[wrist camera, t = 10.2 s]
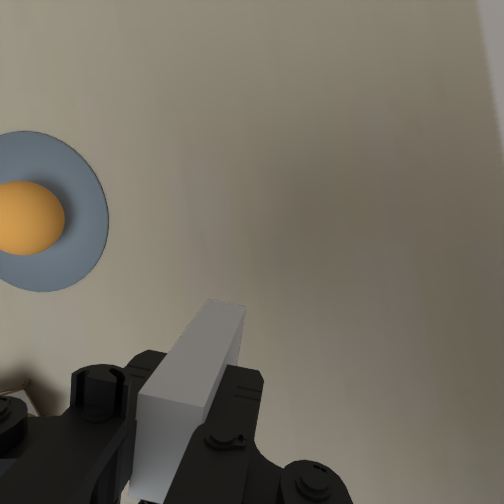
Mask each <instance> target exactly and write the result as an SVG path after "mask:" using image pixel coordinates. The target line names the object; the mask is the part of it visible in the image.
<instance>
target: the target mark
mask: <svg viewBox="0 0 504 504" xmlns="http://www.w3.org/2000/svg"><path fill="white" fill-rule="evenodd" d="M11 181H28V182H33V183H36V184H39V185H41V186H43V187H45V188H46V189H48V190H49V191H51V192H52V193H53V194H54V195H55V196H56V197H57V199H58V200H59V202H60V203H61V205H62V208H63V211H64V216H65V224H64V228H63V232H62V234H61V236H60V237H59V239H58V240H57V241H56V242H55V243H54V244H53V245H52V246H51V247H49V248H48V249H46V250H44V251H42V252H40V253H37V254H32V255H14V254H10V253H7V252H4V251H2V250H0V279H2V280H3V281H5V282H7V283H9V284H11V285H13V286H15V287H18V288H21V289H25V290H29V291H36V292H50V291H56V290H60V289H63V288H66V287H68V286H71V285H73V284H75V283H76V282H78V281H79V280H81V279H82V278H84V277H85V276H86V275H87V274H88V273H89V272H90V271H91V270H92V269H93V267H94V266H95V265H96V263H97V262H98V260H99V258H100V257H101V254H102V252H103V250H104V247H105V244H106V240H107V234H108V209H107V204H106V200H105V196H104V193H103V190H102V187H101V185H100V183H99V181H98V179H97V177H96V175H95V174H94V172H93V171H92V169H91V168H90V166H89V165H88V164H87V163H86V162H85V160H84V159H83V158H82V157H81V156H80V155H79V154H78V153H77V152H75V151H74V150H73V149H72V148H70V147H69V146H68V145H66V144H65V143H63V142H61V141H59V140H57V139H55V138H53V137H50V136H47V135H45V134H40V133H36V132H26V131H20V132H11V133H6V134H3V135H0V185H1V184H3V183H7V182H11Z"/></svg>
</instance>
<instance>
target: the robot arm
mask: <svg viewBox="0 0 504 504" xmlns="http://www.w3.org/2000/svg"><path fill="white" fill-rule="evenodd" d="M245 311H246V306H242V305H236V304H231V303H225V302H220V301H215V300H209V299H208V300H207V301H206V303H205V304H204V305H203V307H202V308H201V309H200V311H199V312H198V313H197V315H196V316H195V317H194V319H193V320H192V321H191V323H190V324H189V325H188V327H187V328H186V329H185V331H184V332H183V333H182V335H181V336H180V338H179V339H178V340H177V342H176V343H175V344H174V346H173V347H172V348H171V350H170V351H169V352H168V353H163V352H158V351H153V350H146V351H144V352H142V353H140V354H138V355H136V356H134V358H133V359H132V360H131V361H130V362H129V363H128V364H127V366H125V367H124V368H121V367H118V366H115V365H108V364H98V365H90V366H87V367H83V368H80V369H78V370H77V371H75V372H73V373H72V377H71V395H70V407H69V408H68V409H67V410H66V411H65V412H64V413H63V414H62V415H61V416H35V417H28V408H27V404H26V403H25V402H24V401H23V400H21V399H20V398H16V397H12V396H0V504H120V499H121V492H122V491H123V489H124V487H125V485H126V484H127V482H128V480H129V478H130V482H129V493H128V496H130V497H134V498H138V499H142V500H147V501H151V502H155V503H159V504H353V502H352V500H351V497H350V495H349V493H348V490H347V488H346V486H345V484H344V483H343V481H342V480H341V478H340V477H339V476H338V475H337V474H336V473H335V472H334V471H333V470H331V469H330V468H329V467H327V466H325V465H323V464H320V463H318V462H314V461H309V460H299V461H293V462H292V463H290V464H288V465H286V466H285V468H284V469H283V468H281V467H279V466H277V465H275V464H274V463H272V462H270V461H269V460H267V459H266V458H265V457H264V456H263V455H262V454H261V453H260V452H259V450H258V449H257V447H256V445H255V442H254V436H255V430H256V425H257V419H258V413H259V408H260V402H261V396H262V390H263V384H264V380H263V378H262V376H261V374H260V372H259V371H258V370H253V369H248V368H243V367H238V366H237V363H238V356H239V350H240V343H241V337H242V331H243V324H244V318H245Z"/></svg>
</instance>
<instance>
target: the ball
mask: <svg viewBox="0 0 504 504" xmlns="http://www.w3.org/2000/svg"><path fill="white" fill-rule="evenodd" d="M64 224H65V216H64V211H63V208H62V205H61V203H60V202H59V200H58V199H57V197H56V196H55V195H54V194H53V193H52V192H51V191H49V190H48V189H46V188H45V187H43V186H41V185H39V184H36V183H33V182H28V181H11V182H7V183H3V184H1V185H0V250H2V251H4V252H7V253H10V254H14V255H32V254H37V253H40V252H42V251H44V250H46V249H48V248H49V247H51V246H52V245H53V244H54V243H55V242H56V241H57V240H58V239H59V237H60V236H61V234H62V232H63V228H64Z"/></svg>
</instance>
